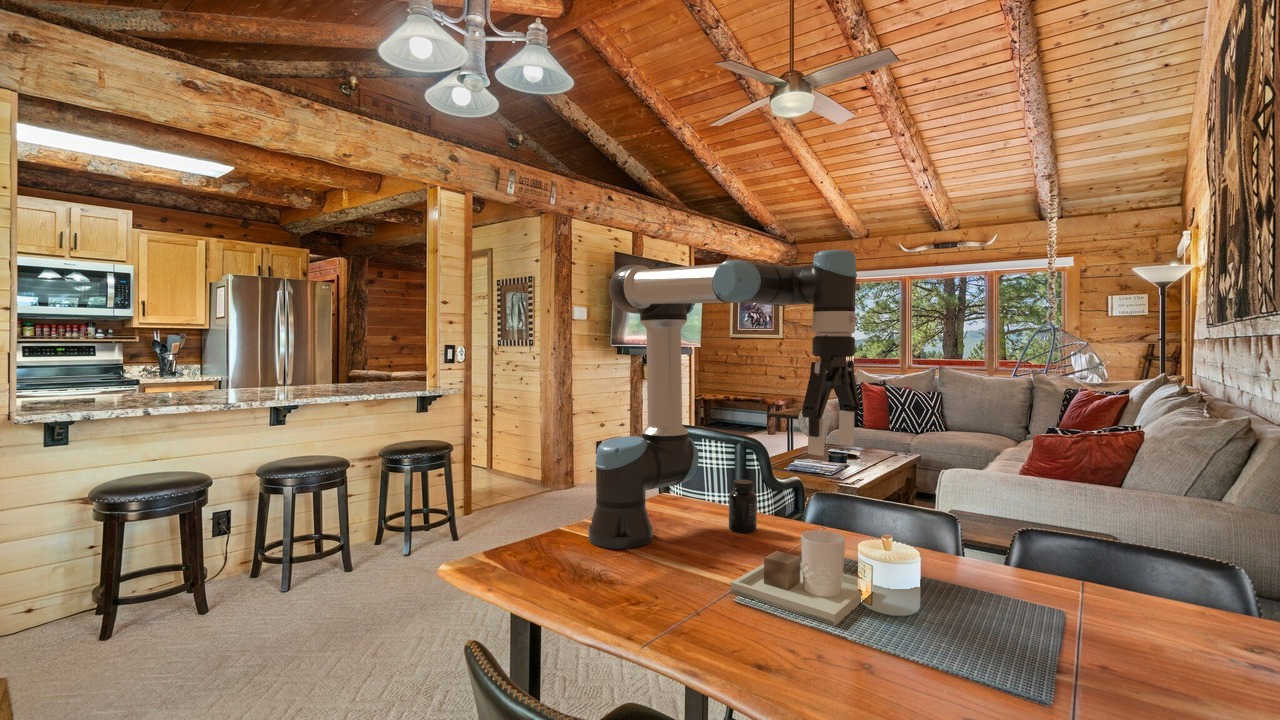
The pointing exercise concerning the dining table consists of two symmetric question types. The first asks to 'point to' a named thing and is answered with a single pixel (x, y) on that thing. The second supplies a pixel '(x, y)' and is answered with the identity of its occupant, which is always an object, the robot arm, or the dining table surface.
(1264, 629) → the dining table surface
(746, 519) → the supplement bottle
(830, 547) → the white cup
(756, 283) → the robot arm
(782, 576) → the walnut block
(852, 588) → the tray
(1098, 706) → the dining table surface
